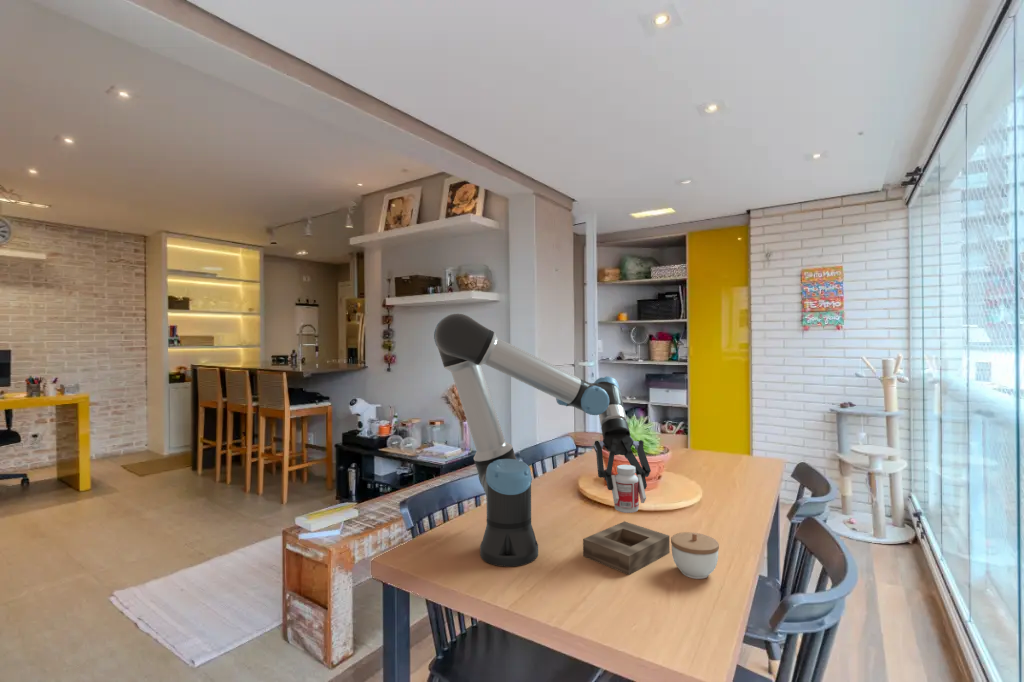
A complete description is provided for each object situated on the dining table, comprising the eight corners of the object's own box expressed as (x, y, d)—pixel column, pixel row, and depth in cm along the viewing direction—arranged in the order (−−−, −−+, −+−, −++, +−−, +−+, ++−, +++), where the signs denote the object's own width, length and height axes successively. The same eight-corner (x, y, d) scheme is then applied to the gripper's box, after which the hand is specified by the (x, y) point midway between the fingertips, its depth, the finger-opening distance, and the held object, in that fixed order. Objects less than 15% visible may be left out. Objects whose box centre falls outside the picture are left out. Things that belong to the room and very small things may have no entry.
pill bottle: (629, 504, 135) (629, 462, 135) (643, 511, 129) (643, 468, 129) (609, 507, 133) (609, 465, 133) (622, 514, 127) (622, 470, 127)
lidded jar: (714, 588, 113) (714, 546, 113) (665, 576, 119) (665, 536, 119) (722, 569, 122) (722, 530, 122) (677, 559, 128) (677, 522, 128)
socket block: (629, 575, 120) (628, 556, 120) (583, 556, 130) (583, 538, 130) (669, 552, 132) (669, 535, 132) (624, 537, 142) (624, 521, 142)
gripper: (644, 431, 147) (664, 507, 130) (579, 432, 146) (590, 508, 130) (650, 416, 141) (671, 492, 125) (582, 417, 140) (594, 494, 124)
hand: (630, 500), depth 127 cm, fingers closed on pill bottle, 6 cm apart
